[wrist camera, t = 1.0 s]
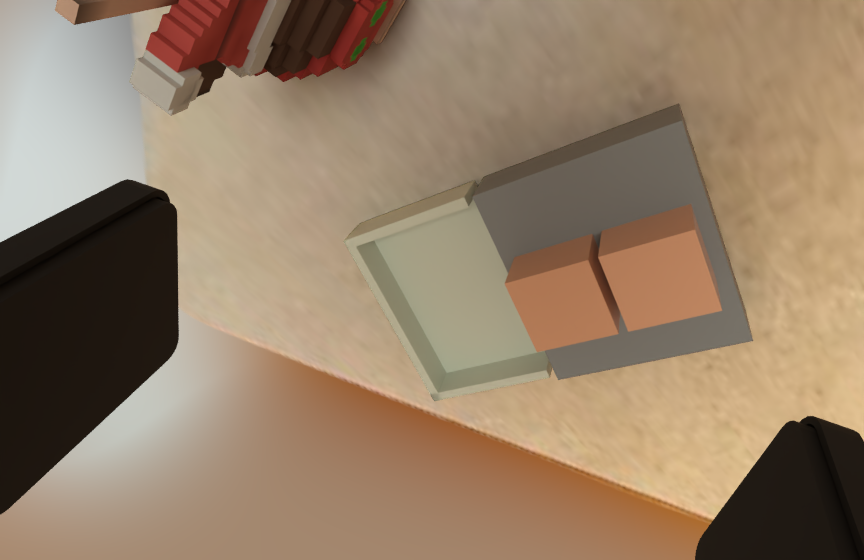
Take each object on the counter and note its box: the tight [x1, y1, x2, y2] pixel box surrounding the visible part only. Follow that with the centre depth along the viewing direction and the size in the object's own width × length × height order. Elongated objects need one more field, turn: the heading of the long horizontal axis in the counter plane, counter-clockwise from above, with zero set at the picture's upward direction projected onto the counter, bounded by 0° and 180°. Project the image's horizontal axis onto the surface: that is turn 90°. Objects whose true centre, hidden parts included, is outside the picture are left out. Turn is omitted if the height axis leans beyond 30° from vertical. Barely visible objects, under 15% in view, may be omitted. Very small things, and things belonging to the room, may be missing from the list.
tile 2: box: [598, 204, 722, 332], centre depth 31 cm, size 4×4×3 cm
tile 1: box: [505, 234, 620, 352], centre depth 34 cm, size 4×4×3 cm
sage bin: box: [344, 180, 552, 401], centre depth 40 cm, size 8×13×3 cm, turn 26°
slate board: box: [472, 104, 753, 380], centre depth 35 cm, size 11×13×3 cm
